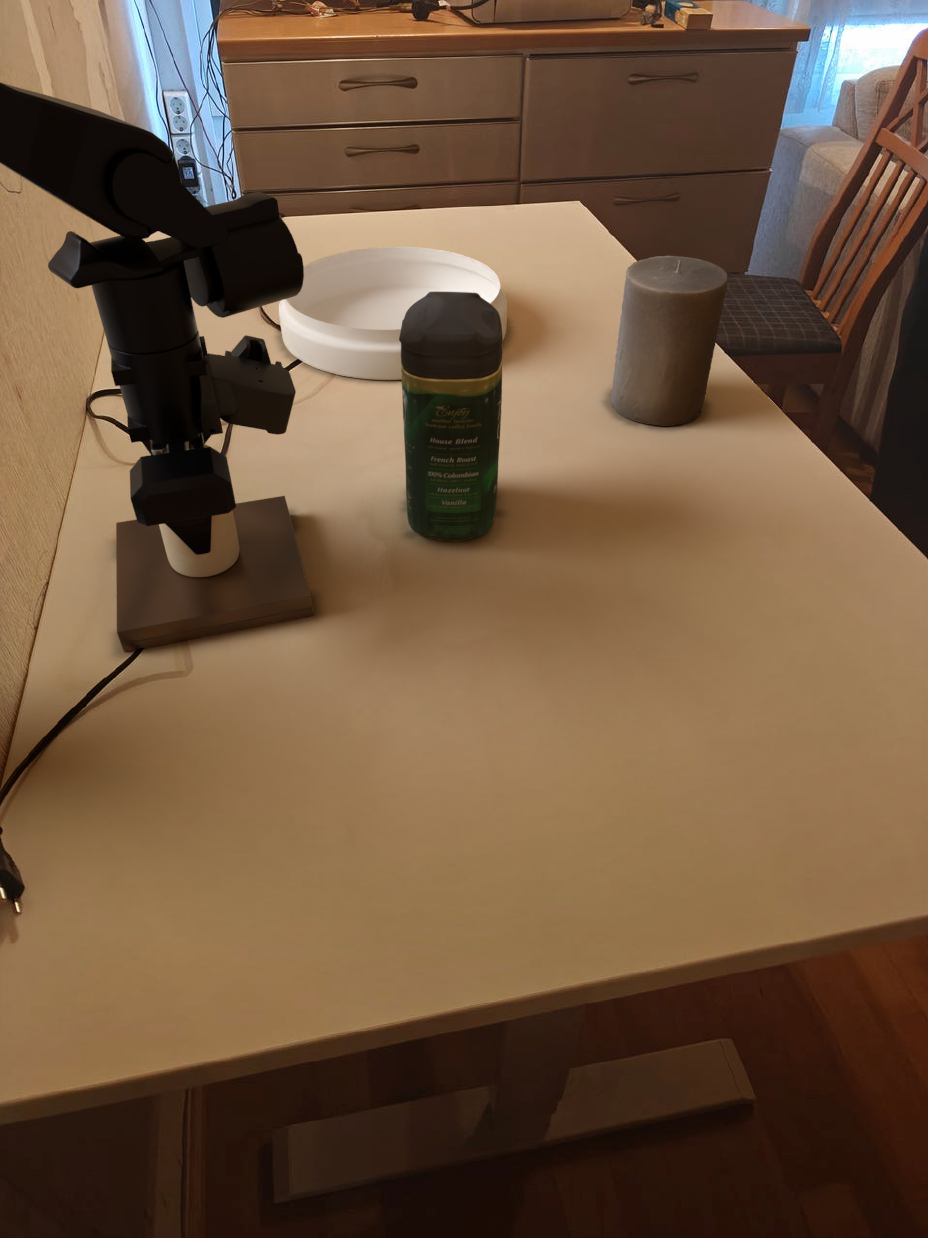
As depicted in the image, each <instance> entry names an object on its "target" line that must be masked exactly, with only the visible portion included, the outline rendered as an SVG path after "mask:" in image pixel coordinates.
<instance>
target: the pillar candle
mask: <svg viewBox="0 0 928 1238" xmlns="http://www.w3.org/2000/svg"><path fill="white" fill-rule="evenodd" d="M728 278H729V276H728V273H727V272H726V270H725V269H724V268H722V267H720V266H719V265H717V264H715V263H712V262H710V261H708V260H704V259H700V258H695V257H688V256H677V255H676V256H675V255H663V256H662V255H660V256H657V255H656V256H653V257H652V256H651V257H648V258H644V259H639V260H638V261H634V262H633V263H631V264H630V265H629V266H627V268H626V270H625V280H624V287H623V295H622V303H621V314H620V318H619V320H620V322H619V327H618V337H617V343H616V344H617V346H616V353H615V358H614V359H615V361H614V369H613V370H614V371H613V377H612V384H611V385H612V386H611V393H610V402H611V406H612V408H613V409H614V410H615V411H616V412H617V413H618V414H619V415H621V416H622V417H624V418H627V419H629V420H631V421H634V422H636V423H641V424H647V425H654V426H659V427H671V426H672V427H673V426H674V427H675V426H681V425H683V424H684V425H685V424H687V423H690V422H692V421H694V420H695V419H697V418H698V417H700V416H701V414H703V408H704V407H703V406H704V401H705V398H706V394H707V389H708V382H709V379H710V373H711V369H712V363H713V358H714V352H715V349H716V348H715V347H716V344H717V343H716V342H717V338H718V332H719V329H720V328H719V327H720V323H721V316H722V313H723V308H724V302H725V297H726V293H727V292H726V291H727V287H728V281H729V279H728Z"/></svg>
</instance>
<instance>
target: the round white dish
mask: <svg viewBox="0 0 928 1238" xmlns="http://www.w3.org/2000/svg"><path fill="white" fill-rule="evenodd" d="M303 266H304V279H303V286H302V288H301V291H300V292H299V293H298V295H296V296H294V297H291V298H287V299H284V300H281V301H279V304H278V318H279V325H280V332H281V338H282V341H283V344H284V346H285V347H286V349H287V351H288V352H289V353H291V355H292V356H294V357H295V358H296V359H298V360H299V361H300V362H302V363H304V364H306V365H308V366H310V367H312V368H314V369H317V370H321V371H322V372H326V373H329V374H333V375H337V376H342V377H347V378H353V379H362V380H363V379H364V380H373V381H374V380H375V381H400V380H401V381H402V374H401V342H400V341H399V337H400V332H401V326H402V321H403V320H404V317H405V314H406V312H407V310H408V309H409V308H410V307H411V306H412V305H413V304H414V303H416V302H417V301H418V300H420V299H421V298H423V297H425V296H426V295H427V294H428V293H429V292H470V293H478V294H479V295H480V297H481V298H483V299H484V300H486V301H487V302H489V303H490V304H491V305H492V306H493V307H494V308H495V309H496V310H497V311H498V313H499V315H500V320H501V325H502V337H503V341H504V339H505V337H506V335H507V334H506V333H507V326H508V325H507V324H508V323H507V321H508V301H507V296H506V295H505V294H506V293H504V291H503V290H502V288H501V280H500V278H499V276H498V275H497V273H495V271H494V270H493V269H491V267H489V266H488V265H486V264H485V263H483V262H481V261H479V260H477V259H474V258H472V257H469V256H467V255H463V254H460V253H457V252H452V251H448V250H443V249H436V248H429V247H420V246H419V247H417V246H379V247H368V248H360V249H354V250H348V251H343V252H338V253H335V254H331V255H327V256H323V257H322V258H319V259H318V258H317V259H316V260H313V261H311V262H309V263H307V264H305V265H303Z"/></svg>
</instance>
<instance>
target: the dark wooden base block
mask: <svg viewBox="0 0 928 1238" xmlns="http://www.w3.org/2000/svg"><path fill="white" fill-rule="evenodd" d="M235 503H236V508H235V509H233V514H234V519H235V525H236V531H237V536H238V542H239V556H238V559H237V560H236V562H235V563H234V564H233V565H232V566H231V567H230V568H228V569H227V570H225V571H223V572H221V573H219V574H216V575H213V576H208V577H190V576H186V575H183V574H180V573H178V572H177V571H175V570H174V569H173V568H172V566H171V565H170V563H169V560H168V557H167V554H166V550H165V546H164V542H163V538H162V534H161V530H160V527H159V524H158V525H152V526H145V525H142V524H140V523H138V522H137V519H131V520H125V521H118V522H116V523H115V526H116V527H115V542H116V543H115V547H116V548H115V550H116V551H115V553H116V557H115V559H116V561H115V563H116V566H115V567H116V568H115V571H116V575H115V576H116V577H115V578H116V579H115V580H116V635H117V637H118V640H119V643H120V646H121V648H122V651H123V652H130V651H134V650H141V649H146V648H152V647H156V646H162V645H166V644H172V643H177V642H182V641H189V640H193V639H198V638H203V637H209V636H214V635H219V634H224V633H230V632H234V631H241V630H246V629H250V628H257V627H261V626H266V625H272V624H275V623H276V624H277V623H281V622H287V621H293V620H297V619H303V618H309V617H313V616H314V614H315V613H314V607H313V600H312V596H311V592H310V591H311V590H310V588H309V584H308V580H307V575H306V572H305V567H304V563H303V561H302V555H301V553H300V549H299V545H298V541H297V537H296V533H295V530H294V526H293V523H292V519H291V515H290V511H289V507H288V503H287V500H286V495H279V496H274V497H267V498H262V499H261V498H260V499H256V500H249V501H243V502H235Z"/></svg>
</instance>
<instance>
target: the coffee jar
mask: <svg viewBox="0 0 928 1238" xmlns="http://www.w3.org/2000/svg"><path fill="white" fill-rule="evenodd" d="M399 341H400V342H401V374H402V380H401V394H402V395H401V396H402V397H401V398H402V419H403V439H404V441H403V443H404V458H405V460H404V463H405V495H406V498H405V499H406V515H407V516H406V517H407V522H408V525H409V527H410V528H411V530H412V531H413V532H414V533H416V534H418V535H420V536H421V537H425V538H429V539H433V540H436V541H444V542H459V541H460V542H461V541H466V540H471V539H476V538H478V537H481V536H484V535H486V534H488V533H489V531H491V529H492V527H493V526H494V524H495V519H496V514H497V500H498V485H499V483H498V482H499V480H498V479H499V460H500V458H499V457H500V443H501V442H500V441H501V425H502V423H501V422H502V403H503V402H502V401H503V397H502V396H503V359H504V357H503V354H504V353H503V341H504V340H503V337H502V325H501V320H500V315H499V313H498V311H497V310H496V309H495V308H494V307H493V306H492V305H491V304H490V303H489V302H487V301H486V300H484V299H483V298H481V297H480V295H479V294H478V293H470V292H429V293H428V294H427V295H426V296H425V297H423V298H421V299H420V300H418V301H417V302H416V303H414V304H413V305H412V306H411V307H410V308H409V309H408V310H407V312H406V314H405V317H404V320H403V321H402V326H401V332H400V337H399Z"/></svg>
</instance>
